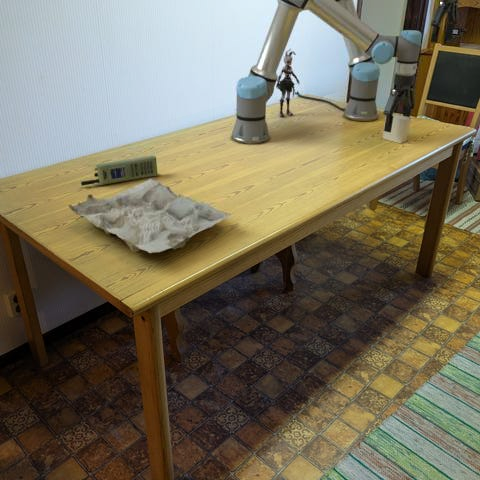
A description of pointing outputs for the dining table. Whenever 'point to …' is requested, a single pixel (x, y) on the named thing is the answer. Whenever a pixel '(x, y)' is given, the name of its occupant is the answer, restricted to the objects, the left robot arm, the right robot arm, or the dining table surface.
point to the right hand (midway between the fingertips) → (441, 41)
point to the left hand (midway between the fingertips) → (396, 128)
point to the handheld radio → (124, 170)
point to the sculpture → (149, 216)
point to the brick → (398, 129)
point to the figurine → (286, 82)
